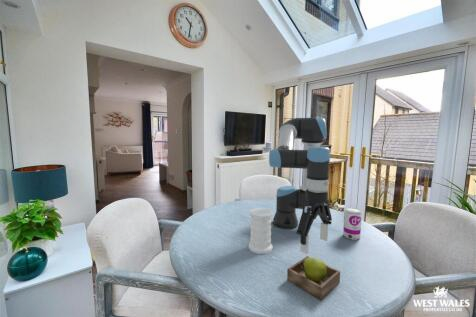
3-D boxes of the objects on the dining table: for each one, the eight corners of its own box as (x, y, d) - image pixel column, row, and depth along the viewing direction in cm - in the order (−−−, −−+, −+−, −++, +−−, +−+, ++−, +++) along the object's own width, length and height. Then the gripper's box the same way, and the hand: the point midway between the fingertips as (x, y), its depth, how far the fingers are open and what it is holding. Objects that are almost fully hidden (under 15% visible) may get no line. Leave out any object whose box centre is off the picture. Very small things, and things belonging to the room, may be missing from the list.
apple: (298, 272, 86) (299, 252, 85) (322, 273, 85) (323, 253, 84) (303, 285, 78) (303, 264, 77) (329, 287, 77) (330, 266, 76)
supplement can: (362, 241, 113) (364, 213, 112) (345, 239, 115) (346, 212, 113) (357, 234, 121) (358, 208, 120) (341, 232, 123) (342, 207, 121)
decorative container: (274, 244, 110) (275, 209, 108) (270, 256, 99) (270, 217, 97) (252, 240, 114) (252, 207, 112) (245, 251, 103) (245, 214, 101)
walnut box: (287, 280, 82) (287, 268, 82) (307, 266, 91) (307, 256, 91) (320, 300, 72) (321, 287, 72) (339, 282, 81) (340, 271, 80)
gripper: (306, 199, 67) (304, 263, 70) (343, 186, 83) (340, 238, 86) (287, 194, 73) (285, 253, 75) (324, 182, 89) (322, 231, 92)
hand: (314, 245), depth 81 cm, fingers open, 13 cm apart
